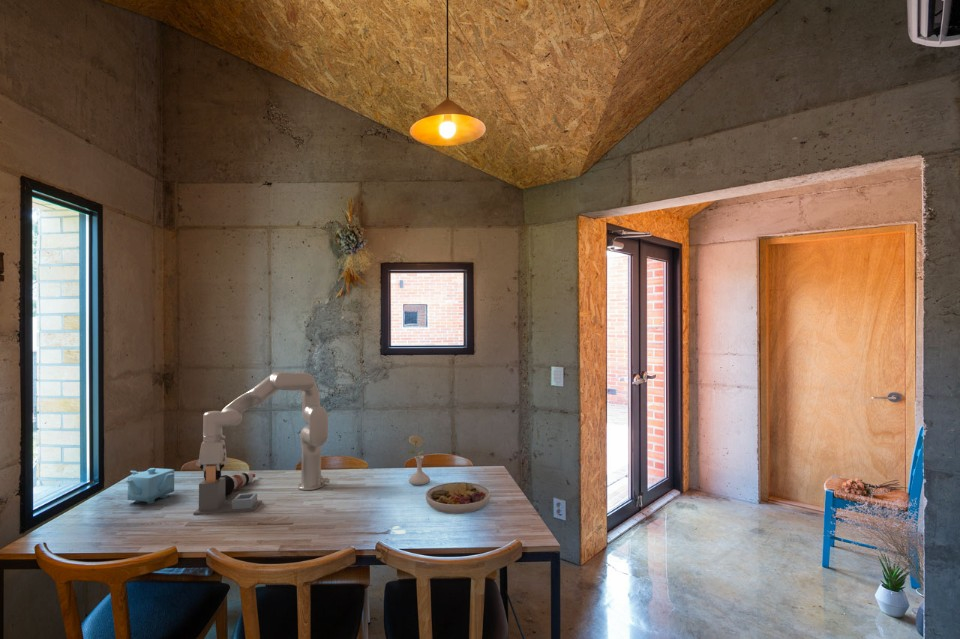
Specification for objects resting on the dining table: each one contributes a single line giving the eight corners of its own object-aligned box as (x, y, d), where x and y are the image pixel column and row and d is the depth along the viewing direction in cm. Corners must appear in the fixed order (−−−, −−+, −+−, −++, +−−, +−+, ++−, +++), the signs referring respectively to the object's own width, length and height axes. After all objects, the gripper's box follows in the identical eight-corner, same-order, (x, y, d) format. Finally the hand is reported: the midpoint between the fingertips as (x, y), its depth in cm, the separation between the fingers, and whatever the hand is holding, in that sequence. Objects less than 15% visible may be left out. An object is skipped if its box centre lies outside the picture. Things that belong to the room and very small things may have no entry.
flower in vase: (434, 482, 243) (434, 434, 243) (420, 488, 233) (420, 439, 234) (415, 478, 250) (415, 432, 250) (401, 484, 240) (401, 436, 241)
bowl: (412, 504, 213) (412, 487, 213) (458, 487, 235) (458, 472, 235) (457, 522, 192) (457, 503, 192) (503, 502, 214) (503, 485, 214)
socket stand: (261, 502, 216) (261, 474, 216) (253, 511, 205) (253, 482, 205) (204, 505, 212) (204, 477, 212) (193, 515, 201) (193, 485, 201)
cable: (256, 488, 247) (265, 471, 248) (213, 505, 214) (224, 486, 214) (241, 479, 249) (250, 462, 250) (196, 494, 215) (207, 475, 216)
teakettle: (174, 490, 233) (174, 461, 233) (174, 501, 217) (174, 470, 218) (127, 498, 222) (127, 467, 223) (123, 510, 207) (124, 477, 207)
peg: (219, 485, 210) (219, 463, 210) (215, 488, 206) (215, 466, 206) (209, 486, 209) (209, 464, 209) (205, 489, 205) (205, 466, 205)
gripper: (235, 436, 213) (235, 475, 212) (196, 437, 210) (196, 477, 210) (229, 439, 205) (228, 480, 205) (188, 441, 203) (188, 483, 202)
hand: (212, 478), depth 207 cm, fingers closed on peg, 4 cm apart
